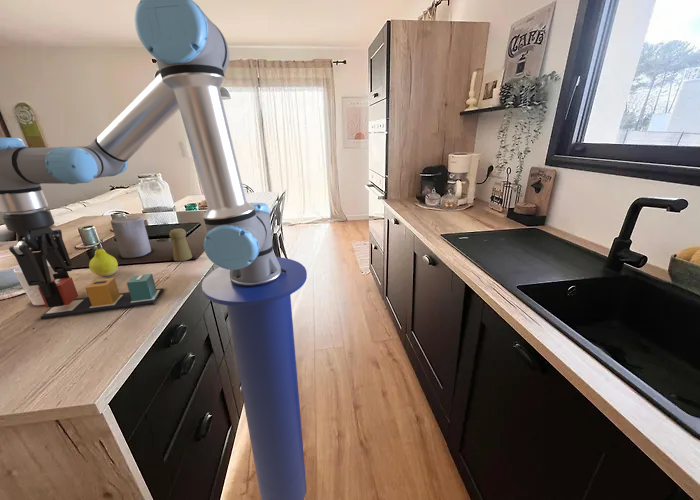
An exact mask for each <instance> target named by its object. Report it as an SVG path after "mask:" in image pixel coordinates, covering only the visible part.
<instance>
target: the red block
mask: <svg viewBox="0 0 700 500" xmlns="http://www.w3.org/2000/svg"><path fill="white" fill-rule="evenodd" d="M51 281H55V283H56V285H57V288H58V291H59V293H60V295H61V298H62V300H63V303H64V305H69V304H70V303H71V302H72V301H73V300H75V299H78V297H79V294H78V291H77V288H76V285H75V283H74V281H73V277H71V276H70V278H61V279H51ZM38 289H39V291H40V294H41V296H42V298H43V301H44V303H45V305H44V306H45V307H46V308H49V307H48V304H47V302H46V300H45V298H44V296H43V294H42V292H41V290H40V288H39V287H38Z"/></svg>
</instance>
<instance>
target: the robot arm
mask: <svg viewBox="0 0 700 500" xmlns="http://www.w3.org/2000/svg"><path fill="white" fill-rule="evenodd" d="M134 27H135V31H136V34H137V37H138V39H139V42H140V43H141V44H142V45H143V48H145V50H146V51H148V53H149V54H150V55H151V56H152V57H154V58H155V60H156V64H157V67H158V71H159V73H158V74H157V75H156V76H155V77H154V78H153V80H152V81H150V82H149V83H148V85H146V86H145V88H144V89H143V90H142V91H141V92H140V93H138V94H137V96H136V97H135V98H134V99H133V100H132V101H130V102H129V104H128V105H127V106H126V107H125V108H124V109H123V110H122V111H121V112H120V113H119V114H118V115H117V116H116V117H115V118H114V119H113V120H112V121H111V122H110V123H109V124H108V125H107V126H106V127H105V128H104V130H102V131H101V132H100V134H98V136H97V137H96V138H95V139H93V140H92V142H90V143H89V144H88V145H87V146H85V145H84V146H53V147H52V146H49V147H28V146H27V145H26V144H25V142H24V141H23V139H21V138H19V137H0V213H2V215H1V218H2V221H3V222H4V225H5V227H6V229H7V230H8V231H9V232H14V233H15V234H16V237H17V238H16V240H17V244H16V245H11V246H9V248H8V250H9V252H10V253H11V254H12V255H13V256H14V257H15V259H16V262H17V263H18V267H19V266H20V268H21V270H22V272H23V274H24V277H25V279H26V281H27V283H28V285H29V286H35V285H38V286H39V288H40V290H41V292H42V294H43V296H44V298H45V300H46V302H47V304H48V307H47V308H50V309H51V308H52V307H59V306H63V305H64V303H63V300H62V298H61V295H60V293H59V291H58V288H57V285H56V283H55V281H51V277H50V273H49V269H48V264H47V261H48V263H49V264H50V266H51V267H52V269H53V270H54V272H55V274H53V277H54V279H61V278H71V276H70V275H69V273H68V272H72V271H73V267H72V265H73V264H72V260H71V258H70V255H69V253H68V250H67V247H66V245H65V242H64V239H63V232H62V229H52V226H53V225H55V220H54V217H53V215H52V211H51V210H50V209H48V207H49V203H48V201H47V198H46V196H45V193H44V191H43V189H42V186H41V184H58V185H60V184H65V185H67V184H68V185H76V184H87V183H90V182H92V181H94V180H95V179H99V178H107V177H114V176H117V175H120V174H123V173H124V172H125V171H126V170H127V169H128V166H129V164H128V163H129V160H130V159H131V158H132V157H133V156H134V155H135V154H136V153H137V152H138V151H139V150H140V149H141V148H142V147H144V146H145V144H146V143H148V142H149V141H150V140H151V139H152V138H153V137H154V136H155V135H156V134H157V133H158V132H159V131H160V130H161V129H162V128H163V127H164V126H165V125H166V124H167V123H168V122H169V121H170V120H171V119H173V117H175V116H176V114H177V113H179V112H180V113H179V114H180V115H181V119H182V123H183V126H184V129H185V133H186V137H187V140H188V143H189V147H190V151H191V154H192V157H193V161H194V164H195V168H196V171H197V175H198V178H199V179H198V180H199V182H200V185H201V189H202V192H203V196H204V200H205V203H206V206H207V208H206V211H205V212H204V214H202V218H203V223H204V225H205V228H206V232H207V233H206V235H205V236H204V241H203V250H204V253H205V255H206V257H207V258H208V259H209V260H210V262H212V263H213V264H214V265H215V266H218V267H222V268H225V269H229V270H230V280H231V282H232V283H233V284H234V285H237V286H240V287H258V286H263V285H267V284H270V283H272V282H274V281H276V280H277V279H278V278H279V277H280V276H281V271H282V272H284V273H286V271H287V270H284V269H282V268H281V267H280V264H279V262H278V260H277V258H276V257H277V256H276V253H275V252H274V244H273V235H272V233H273V232H272V224H271V212H270V208H269V205H268V204H267V203H264V202H248V201H247V198H246V194H245V189H244V185H243V181H242V177H241V173H240V169H239V165H238V160H237V157H236V153H235V149H234V144H233V140H232V136H231V131H230V126H229V123H228V118H227V113H226V111H225V106H224V102H223V97H222V93H221V87H223V85H224V83H226V76H225V73H226V71H227V68H228V67H229V62H230V51H229V45H228V42H227V40H226V37H225V35H224V34H223V32H222V31H221V30H220V28H219V27H218V26H217V25H216V24H215V23H214V22H213V21H212V20H211V19H210V18H209V17H208V16H207V15H206V13H205V12H204V11H203V10H202V8H201V7H200V6H199V5H198V4H197V3H196V2H195V1H194V0H140V1H139V3H138V4H137V5H136V7H135V11H134ZM56 272H57V273H56Z"/></svg>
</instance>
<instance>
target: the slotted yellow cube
mask: <svg viewBox="0 0 700 500" xmlns="http://www.w3.org/2000/svg"><path fill="white" fill-rule="evenodd" d="M85 290H86V294H87V297H89V299H90V302H91V304H92V307H93V306H101V305H109V304H113V303H114V302H115V301H116V300H117V299H118V298H119V296H120V293H121V292H120V289H119V287H118V284H117V281H116V278H115V277H109V278H99V279H93V280H92V281H91V282H90V283H89V284H88V285H87V286H85Z"/></svg>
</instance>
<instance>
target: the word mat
mask: <svg viewBox="0 0 700 500" xmlns="http://www.w3.org/2000/svg"><path fill="white" fill-rule="evenodd" d="M156 290H157V292H156V293H155V295H154V296H153V298H152V299H146V300H139V301H132V299H131V295H130V292H129V291H128V292H119V293H120V296H119V298H118V299H117V300H116V301H115V302H114V303H113V304H109V305H101V306H93V307H92V304H91V302H90V299H89V296H87V297H86V296H85V297H79V298H78V297H77V298H76V299H75V300H73V301H72V302H71V303H70V304H69V305H63V306H59V307H51V308H50V309H48V310H47V311H46V312H45V313H44V314H42V315H41V316H40V320H45V319H51V318H59V317H68V316H74V315H82V314H89V313H97V312H106V311H111V310H121V309H128V308H135V307H141V306H142V307H143V306H149V305H155V304H156V302H157V300H158V299H159V297H160V296H161V294H162V292H163V290H164V288H163V287H162V288H156Z"/></svg>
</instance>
